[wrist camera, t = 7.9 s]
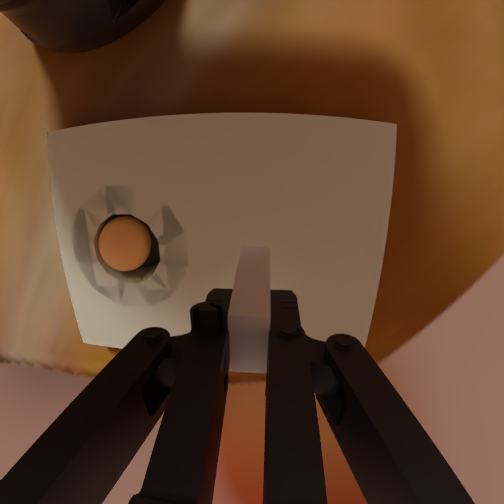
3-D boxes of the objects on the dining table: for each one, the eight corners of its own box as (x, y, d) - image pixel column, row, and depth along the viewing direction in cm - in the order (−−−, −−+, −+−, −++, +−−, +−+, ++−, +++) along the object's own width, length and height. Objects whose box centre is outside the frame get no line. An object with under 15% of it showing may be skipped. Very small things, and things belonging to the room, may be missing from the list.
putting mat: (68, 130, 21) (47, 132, 19) (381, 124, 20) (397, 124, 18) (96, 324, 28) (83, 342, 25) (354, 337, 27) (362, 358, 24)
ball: (103, 215, 23) (90, 221, 20) (152, 212, 24) (146, 217, 20) (107, 264, 24) (95, 278, 20) (155, 262, 25) (150, 276, 21)
